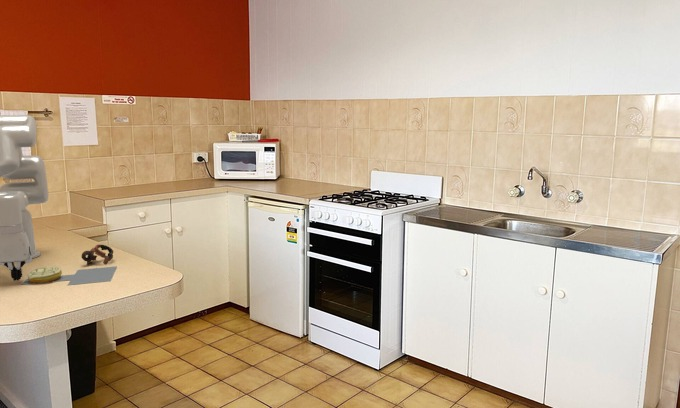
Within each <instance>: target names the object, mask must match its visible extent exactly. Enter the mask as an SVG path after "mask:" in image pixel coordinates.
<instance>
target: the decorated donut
mask: <svg viewBox="0 0 680 408" xmlns="http://www.w3.org/2000/svg"><path fill="white" fill-rule="evenodd" d="M62 275H63V273H62V269H61V268H60V267H58V266H47V267H46V266H45V267H40V268H37V269H33V270H32V271H30V272H28V274H27V279H28V280H29V281H30V282H32V283H36V284H43V282H47V283H51V282H50V281H55V280H57V279H58V278H60V276H62Z"/></svg>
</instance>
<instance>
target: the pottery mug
mask: <svg viewBox="0 0 680 408" xmlns="http://www.w3.org/2000/svg"><path fill="white" fill-rule="evenodd" d="M99 248H100V249H101V250H100V249H99ZM104 251H107V252H108V253H106V252H104ZM106 254H107V255H106ZM98 256H99V257H101V258H103V259H104V260H103V264H104V265H107V264H109V262H110V261H111V260H112V259H113V258H114V250H113V249H112V248H111V247H110V246H108V245H105V244H96V245H95V246H94V247H92V248H91V249H90V250H85V251H82V253H81V259H82V260H83V262H86V264H87V265H88V264H91V263H92V261H94V260H95V261H96V260H97V257H98Z"/></svg>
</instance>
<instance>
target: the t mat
mask: <svg viewBox="0 0 680 408" xmlns="http://www.w3.org/2000/svg"><path fill="white" fill-rule="evenodd" d="M117 268H118V266H117V265H116V266H105V267H95V268H82V269H81V268H80V269H78V270H76V272H75V273H74V274H65V275H63V274H61V276H60V278H58V279H57V280H55V281H50V282H49V283H56V282H66V281H69V282H68V283H67V286H73V285H74V286H75V285H85V284H94V283H96V284H97V283H104V282H105V283H106V282H111V281H112V279H113V277H114V275H115V272H116V270H117ZM43 283H45V284H46V282H43ZM43 283H42V284H43ZM34 284H37V283H32V282H30V281H29V280H28V278H26V279H25V280H24V281H23V282H22V283H21V285H22V286H24V285H34Z"/></svg>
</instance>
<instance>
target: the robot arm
mask: <svg viewBox="0 0 680 408" xmlns="http://www.w3.org/2000/svg"><path fill="white" fill-rule="evenodd" d="M37 126H38V125H37V122H36V118H35V117H34V116H32V115H30V114H29V115H28V114H26V115H25V114H18V115H16V114H13V115H10V114H5V115H4V114H3V115H1V114H0V178H1V177H2V178H3V179H5V180H10V181H13V180H14V181H15V180H33V181H17V182H8V183H4V184H2V185H1V186H0V266H3V267H6V268H8V270H10V277H11V279H12V280H13V282H16V281H17V282H18V281H20V280H21V279H22V277H23V272H22V268H23V266H25V265H26V264H29V263H32V262H33V259H34V258H35V259H36V258H38V257H41V256H40V255H41V251H40V250H37V249H36V242H35V232H34V226H33V217H32V214H31V212H30V211H29V210H28V209H27V207H28V205H38V204H44V203H47V201H49V188H48V187H49V186H48V180H47V179H48V178H47V173H46V172H47V171H46V165H45V161H44V159H43V158H42V157H41V156H39V155H23V151H22V150H23V149H22V148H31V147H32V148H33V147H35V146H36V144H37V138H38V137H37V135H38V134H37V132H38V129H37V128H38V127H37ZM15 264H16V265H15Z"/></svg>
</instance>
